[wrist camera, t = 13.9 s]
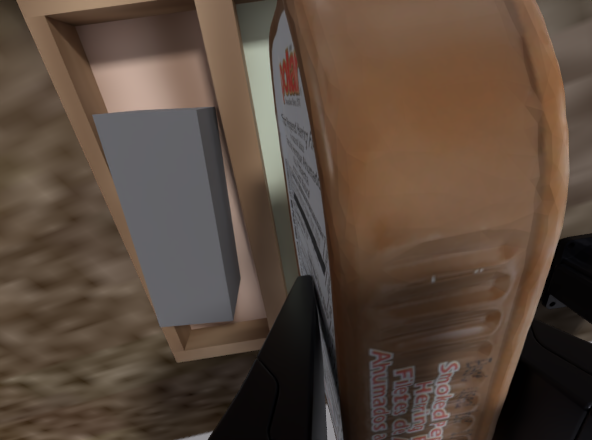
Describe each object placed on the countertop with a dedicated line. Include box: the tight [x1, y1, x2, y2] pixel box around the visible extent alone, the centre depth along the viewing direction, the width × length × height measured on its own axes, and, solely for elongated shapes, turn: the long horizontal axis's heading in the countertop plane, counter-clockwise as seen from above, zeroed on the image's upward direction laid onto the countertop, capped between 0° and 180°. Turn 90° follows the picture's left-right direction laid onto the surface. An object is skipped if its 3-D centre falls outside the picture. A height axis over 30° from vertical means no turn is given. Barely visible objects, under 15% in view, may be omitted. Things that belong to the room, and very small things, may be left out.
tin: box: [269, 0, 570, 440], centre depth 8 cm, size 15×3×8 cm, turn 7°
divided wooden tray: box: [16, 0, 299, 363], centre depth 16 cm, size 14×21×2 cm
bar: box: [92, 107, 241, 327], centre depth 15 cm, size 11×4×4 cm, turn 2°
